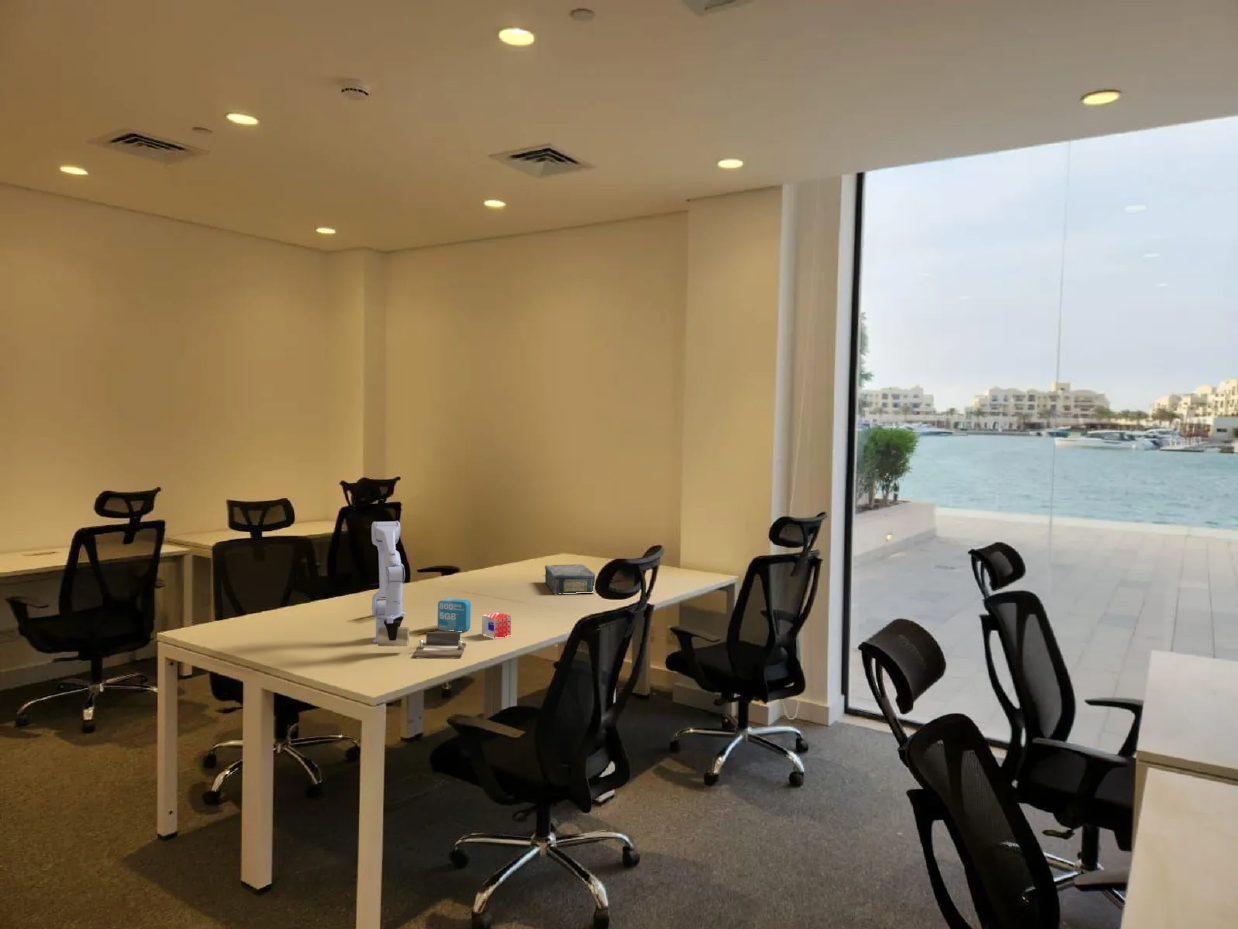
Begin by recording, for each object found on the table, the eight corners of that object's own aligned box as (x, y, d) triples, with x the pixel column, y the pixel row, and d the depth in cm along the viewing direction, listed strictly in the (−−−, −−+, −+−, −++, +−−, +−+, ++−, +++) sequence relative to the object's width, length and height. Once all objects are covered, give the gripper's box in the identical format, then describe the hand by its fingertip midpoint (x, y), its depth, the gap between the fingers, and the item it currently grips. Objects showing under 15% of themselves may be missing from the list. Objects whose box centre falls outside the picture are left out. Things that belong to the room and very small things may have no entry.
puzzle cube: (510, 636, 312) (511, 615, 312) (493, 639, 307) (494, 618, 306) (498, 632, 318) (498, 612, 318) (481, 635, 312) (481, 615, 312)
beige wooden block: (379, 643, 286) (380, 627, 285) (408, 644, 286) (409, 627, 286) (378, 646, 283) (378, 629, 282) (407, 646, 284) (407, 629, 283)
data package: (437, 630, 318) (437, 600, 317) (442, 628, 322) (442, 597, 322) (465, 632, 315) (466, 602, 315) (470, 630, 320) (471, 600, 319)
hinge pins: (419, 648, 288) (419, 640, 288) (461, 648, 289) (462, 640, 289) (419, 649, 287) (419, 640, 287) (461, 649, 288) (461, 641, 288)
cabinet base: (421, 645, 295) (421, 632, 295) (465, 645, 297) (466, 632, 296) (413, 658, 279) (413, 643, 279) (460, 658, 281) (461, 643, 280)
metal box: (552, 596, 391) (553, 575, 391) (543, 583, 423) (543, 564, 422) (596, 595, 396) (596, 574, 396) (583, 582, 428) (584, 563, 427)
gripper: (401, 605, 277) (401, 644, 278) (409, 596, 291) (408, 633, 292) (380, 605, 276) (380, 644, 277) (389, 596, 291) (388, 633, 291)
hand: (393, 639), depth 284 cm, fingers closed on beige wooden block, 3 cm apart
